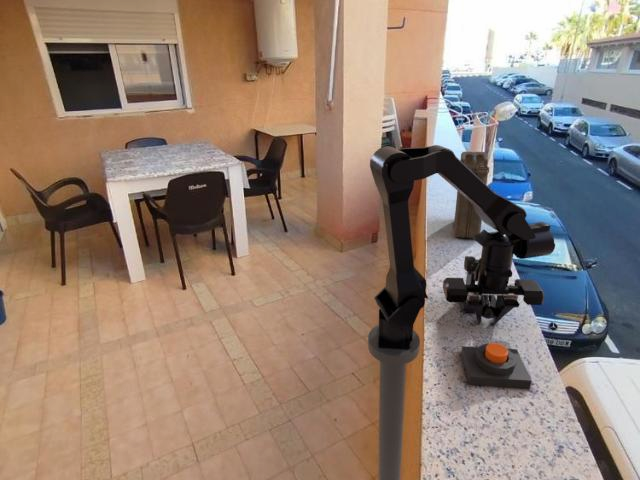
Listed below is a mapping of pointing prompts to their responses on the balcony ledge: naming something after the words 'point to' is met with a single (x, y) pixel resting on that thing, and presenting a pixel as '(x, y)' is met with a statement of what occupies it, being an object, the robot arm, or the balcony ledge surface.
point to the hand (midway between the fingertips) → (486, 323)
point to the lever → (487, 308)
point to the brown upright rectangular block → (465, 213)
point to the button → (496, 353)
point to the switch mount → (492, 298)
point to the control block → (495, 369)
